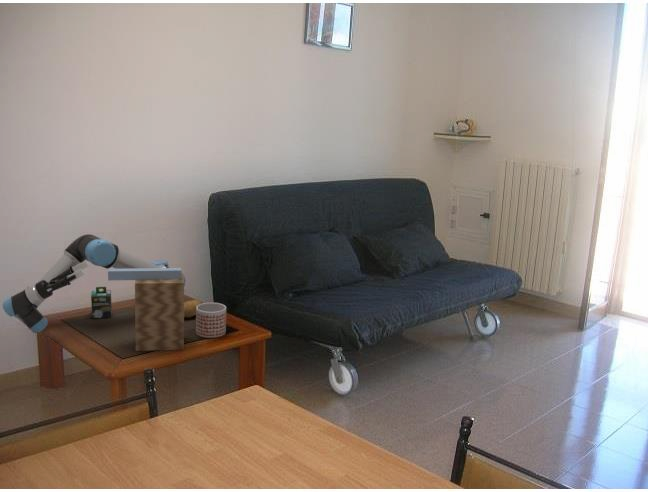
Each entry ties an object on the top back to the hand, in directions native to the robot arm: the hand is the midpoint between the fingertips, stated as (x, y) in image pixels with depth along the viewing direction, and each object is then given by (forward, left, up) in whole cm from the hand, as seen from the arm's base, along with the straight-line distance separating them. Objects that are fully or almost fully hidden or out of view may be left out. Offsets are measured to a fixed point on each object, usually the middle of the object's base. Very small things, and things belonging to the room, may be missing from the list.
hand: (85, 267), depth 275 cm
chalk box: (-26, -22, -34) cm, 48 cm away
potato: (-52, +11, -34) cm, 63 cm away
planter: (-42, +34, -34) cm, 64 cm away
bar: (-14, +21, -4) cm, 26 cm away
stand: (-18, +26, -34) cm, 46 cm away
